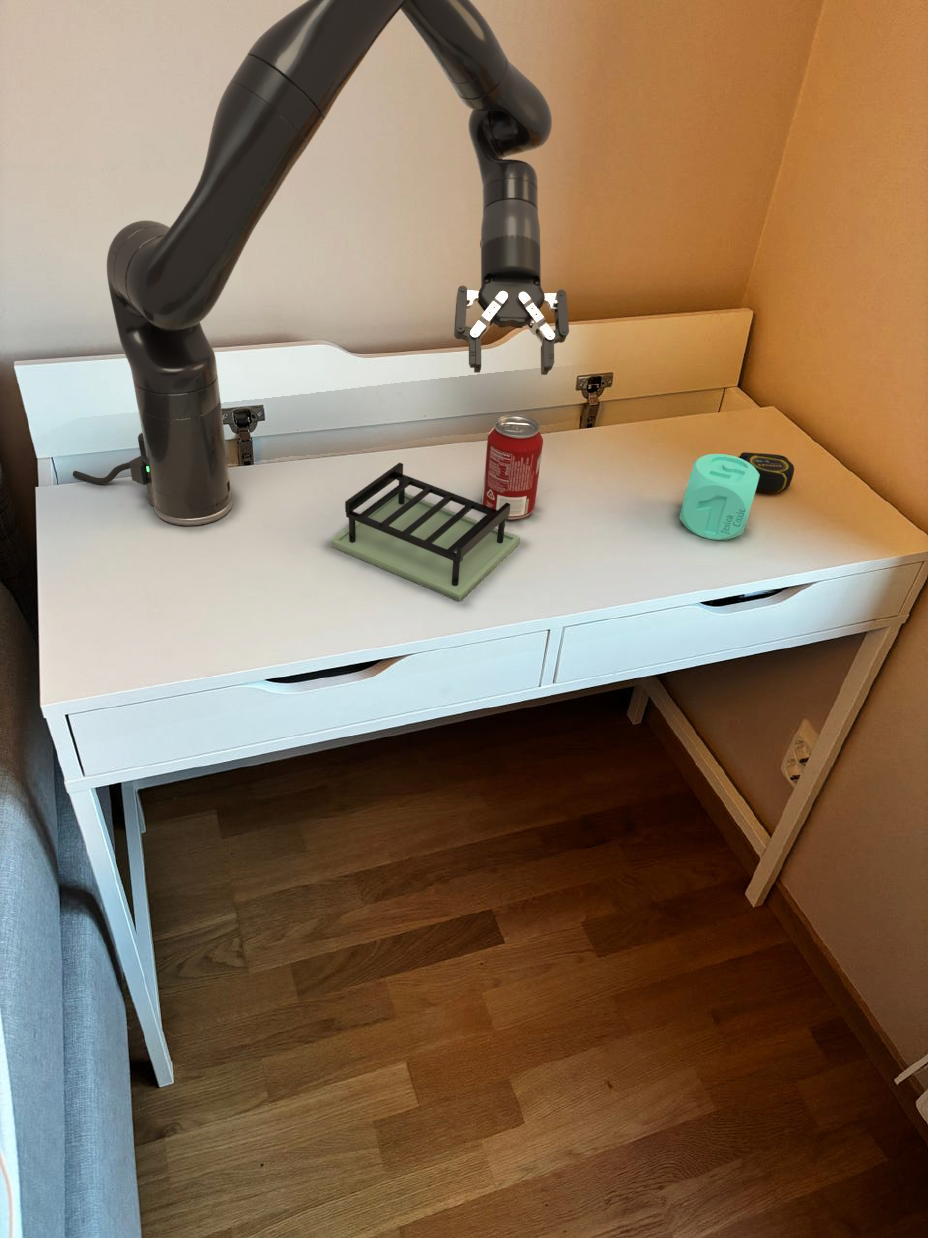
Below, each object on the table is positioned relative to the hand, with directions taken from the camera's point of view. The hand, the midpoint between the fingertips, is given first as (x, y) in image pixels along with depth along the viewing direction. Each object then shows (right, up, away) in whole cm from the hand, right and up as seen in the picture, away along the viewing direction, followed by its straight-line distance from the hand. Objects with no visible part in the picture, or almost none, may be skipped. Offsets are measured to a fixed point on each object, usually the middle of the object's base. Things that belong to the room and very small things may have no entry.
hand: (511, 371), depth 118 cm
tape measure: (+35, -12, +12) cm, 39 cm away
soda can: (0, -17, +3) cm, 17 cm away
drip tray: (-11, -22, -4) cm, 25 cm away
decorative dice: (+26, -19, +4) cm, 32 cm away
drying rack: (-11, -22, -4) cm, 25 cm away
